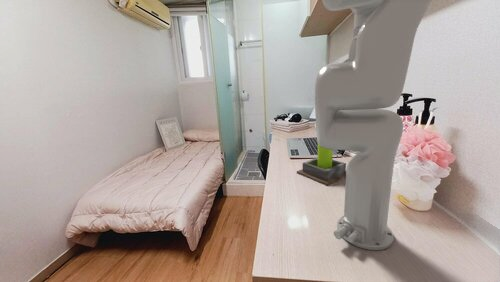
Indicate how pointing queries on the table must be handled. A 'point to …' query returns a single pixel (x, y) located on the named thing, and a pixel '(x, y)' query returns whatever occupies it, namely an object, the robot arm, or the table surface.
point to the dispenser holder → (323, 171)
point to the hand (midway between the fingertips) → (362, 84)
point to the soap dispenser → (324, 157)
